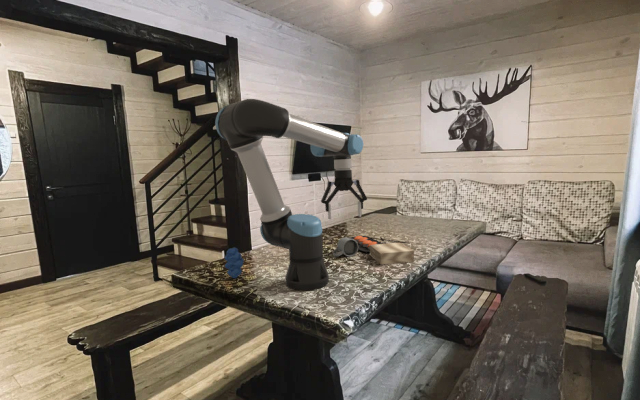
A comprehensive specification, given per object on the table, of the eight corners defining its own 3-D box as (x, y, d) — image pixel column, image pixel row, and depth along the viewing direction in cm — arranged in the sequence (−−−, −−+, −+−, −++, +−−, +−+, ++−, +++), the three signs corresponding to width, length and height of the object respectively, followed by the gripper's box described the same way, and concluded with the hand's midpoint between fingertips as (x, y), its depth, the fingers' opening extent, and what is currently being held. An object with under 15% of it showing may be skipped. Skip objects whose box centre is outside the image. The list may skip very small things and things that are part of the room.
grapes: (253, 279, 122) (250, 247, 120) (236, 284, 117) (233, 251, 116) (238, 271, 130) (235, 242, 129) (221, 276, 126) (219, 245, 125)
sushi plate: (340, 241, 174) (340, 234, 174) (391, 235, 183) (391, 228, 182) (364, 256, 147) (364, 247, 146) (422, 248, 155) (422, 240, 155)
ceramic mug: (350, 250, 154) (349, 234, 153) (359, 255, 146) (358, 238, 145) (329, 254, 150) (328, 238, 149) (337, 259, 142) (336, 241, 141)
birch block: (380, 265, 132) (380, 253, 131) (370, 256, 146) (369, 244, 145) (414, 262, 134) (413, 250, 134) (400, 253, 148) (400, 242, 147)
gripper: (367, 167, 149) (369, 214, 152) (313, 170, 145) (315, 218, 148) (373, 168, 142) (374, 216, 144) (315, 171, 138) (318, 221, 140)
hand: (344, 217), depth 146 cm, fingers open, 13 cm apart
